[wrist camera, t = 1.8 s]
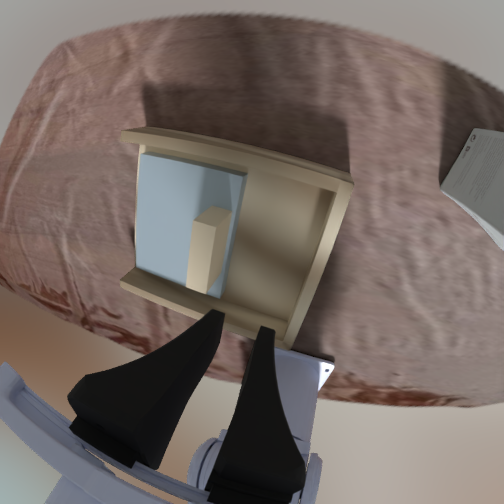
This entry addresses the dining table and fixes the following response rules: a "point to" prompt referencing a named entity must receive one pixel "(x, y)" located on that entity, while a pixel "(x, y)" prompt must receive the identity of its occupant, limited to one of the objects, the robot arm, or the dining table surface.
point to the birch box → (256, 234)
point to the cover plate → (187, 220)
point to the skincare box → (480, 181)
